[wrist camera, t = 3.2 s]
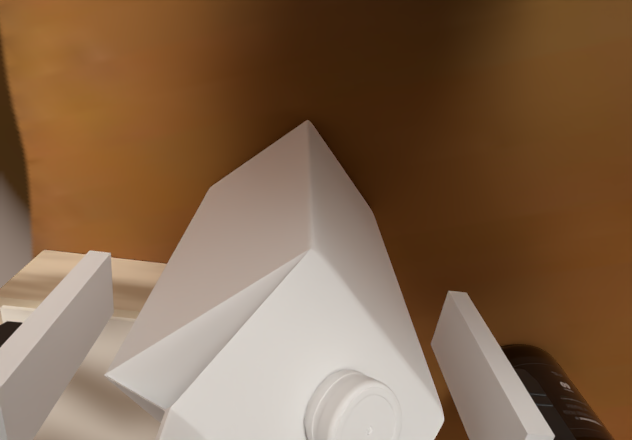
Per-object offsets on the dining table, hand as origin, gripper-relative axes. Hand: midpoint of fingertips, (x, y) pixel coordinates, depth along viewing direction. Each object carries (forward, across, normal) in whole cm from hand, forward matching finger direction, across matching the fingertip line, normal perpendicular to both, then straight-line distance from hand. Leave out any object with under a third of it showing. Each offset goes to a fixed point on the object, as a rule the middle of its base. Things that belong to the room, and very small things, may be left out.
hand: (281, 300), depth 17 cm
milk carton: (+10, 0, 0) cm, 10 cm away
